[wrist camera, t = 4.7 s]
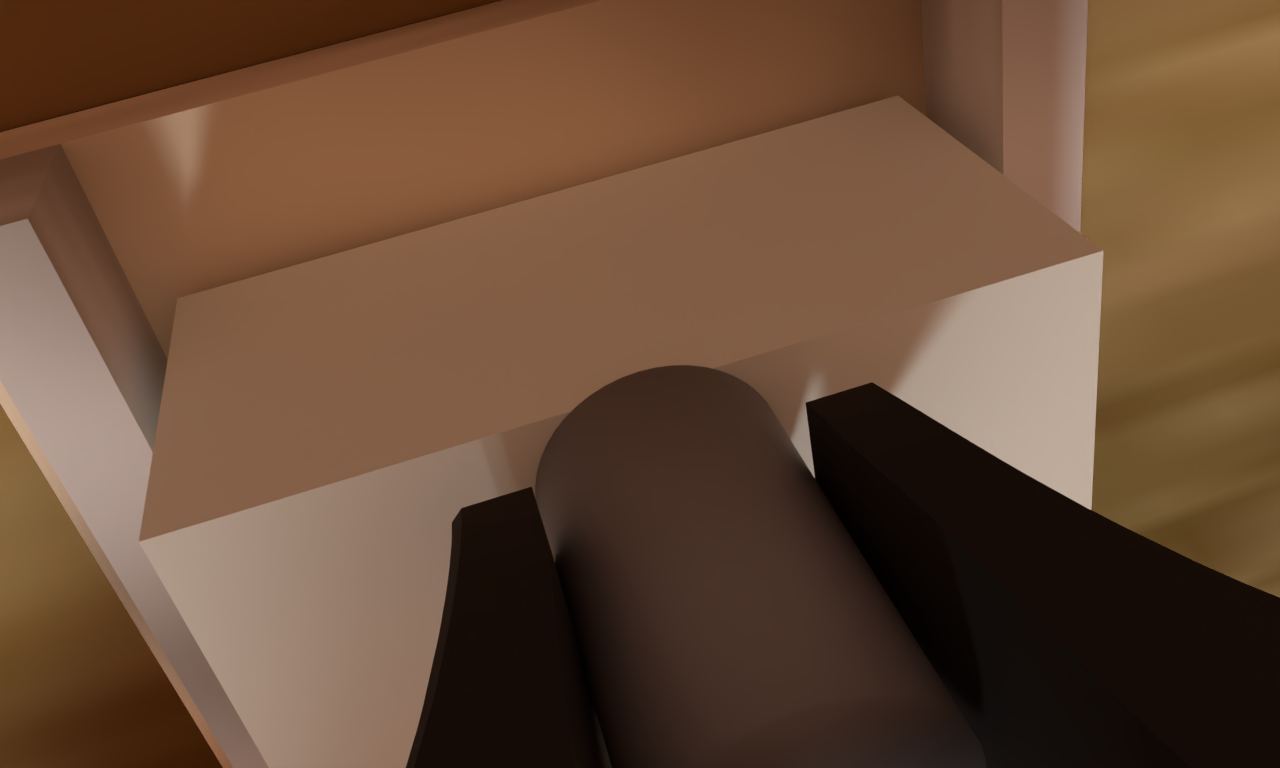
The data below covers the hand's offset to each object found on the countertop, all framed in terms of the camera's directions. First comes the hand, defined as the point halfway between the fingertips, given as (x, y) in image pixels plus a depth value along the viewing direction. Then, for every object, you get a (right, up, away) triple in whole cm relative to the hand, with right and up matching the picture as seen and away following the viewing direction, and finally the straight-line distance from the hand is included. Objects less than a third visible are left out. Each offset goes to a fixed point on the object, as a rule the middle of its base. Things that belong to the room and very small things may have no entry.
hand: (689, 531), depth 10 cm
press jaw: (-1, +1, +6) cm, 6 cm away
